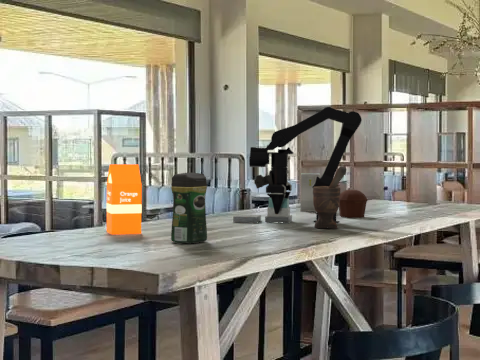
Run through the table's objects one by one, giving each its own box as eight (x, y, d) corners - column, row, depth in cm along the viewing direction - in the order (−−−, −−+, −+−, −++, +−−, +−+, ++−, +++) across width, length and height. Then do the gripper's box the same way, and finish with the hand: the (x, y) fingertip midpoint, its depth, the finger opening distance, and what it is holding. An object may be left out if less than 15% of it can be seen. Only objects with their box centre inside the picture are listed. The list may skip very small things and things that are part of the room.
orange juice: (106, 231, 232) (106, 164, 231) (135, 230, 235) (136, 164, 235) (111, 234, 225) (111, 164, 224) (141, 233, 228) (142, 164, 227)
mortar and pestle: (352, 228, 250) (353, 165, 249) (342, 230, 243) (343, 166, 242) (319, 226, 256) (320, 164, 255) (308, 228, 248) (309, 165, 247)
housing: (289, 215, 270) (290, 195, 270) (287, 216, 266) (288, 196, 265) (269, 215, 272) (270, 195, 272) (267, 216, 267) (267, 196, 267)
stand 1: (260, 220, 271) (260, 215, 271) (256, 223, 263) (256, 217, 263) (238, 220, 273) (238, 214, 273) (233, 222, 265) (233, 216, 265)
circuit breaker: (319, 208, 327) (319, 172, 326) (319, 211, 313) (319, 174, 312) (301, 208, 328) (301, 172, 327) (300, 211, 314) (300, 173, 313)
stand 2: (291, 221, 272) (291, 215, 272) (288, 223, 264) (288, 217, 264) (269, 220, 273) (269, 214, 273) (265, 222, 266) (265, 216, 266)
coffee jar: (188, 239, 216) (189, 171, 215) (211, 241, 211) (212, 172, 210) (165, 242, 208) (165, 172, 207) (188, 245, 203) (189, 173, 202)
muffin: (373, 217, 289) (373, 190, 289) (346, 218, 285) (347, 191, 284) (356, 215, 300) (357, 188, 300) (331, 215, 296) (331, 189, 296)
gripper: (261, 166, 279) (260, 210, 279) (251, 167, 260) (250, 214, 261) (292, 166, 276) (291, 211, 277) (284, 168, 258) (283, 215, 259)
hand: (278, 213), depth 269 cm, fingers open, 9 cm apart
